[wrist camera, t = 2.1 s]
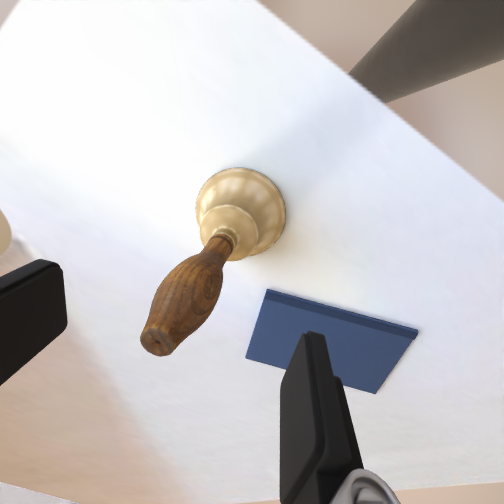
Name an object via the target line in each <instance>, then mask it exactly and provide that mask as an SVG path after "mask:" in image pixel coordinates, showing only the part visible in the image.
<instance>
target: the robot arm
mask: <svg viewBox="0 0 504 504" xmlns="http://www.w3.org/2000/svg"><path fill="white" fill-rule="evenodd" d="M66 327H67V311H66V301H65V290H64V279H63V271H62V269H61V268H60V266H59V264H57V263H55V262H51V261H47V260H43V259H38V260H35V261H33V262H31V263H29V264H27V265H25V266H22V267H20V268H18V269H16V270H14V271H12V272H10V273H8V274H5V275H3V276H1V277H0V386H1V385H2V384H3V383H4V382H5V381H6V380H8V379H9V378H10V377H11V376H12V375H13V374H15V373H16V372H17V371H18V370H19V369H20V368H22V367H23V366H24V365H25V364H26V363H27V362H29V361H30V360H31V359H32V358H33V357H34V356H36V355H37V354H38V353H39V352H40V351H41V350H43V349H44V348H45V347H46V346H47V345H48V344H49V343H51V342H52V341H53V340H54V339H55V338H56V337H58V336H59V335H60V334H61V333H62V332H63V331H64V330H65V329H66ZM280 502H281V504H401V503H400V502H399V500H398V499H397V497H396V495H395V493H394V492H393V491H392V489H391V488H390V487H389V486H388V485H387V483H386V482H385V481H383V480H382V479H381V478H380V477H379V476H378V475H376V474H374V473H372V472H370V471H369V470H365V469H364V467H363V463H362V459H361V455H360V451H359V447H358V443H357V439H356V436H355V432H354V428H353V424H352V420H351V416H350V412H349V408H348V404H347V400H346V396H345V392H344V388H343V384H342V381H341V379H340V378H339V377H338V376H334V375H333V370H332V366H331V362H330V357H329V353H328V348H327V344H326V339H325V336H324V335H323V334H320V333H317V332H313V331H308V332H307V334H305V333H302V335H301V337H300V339H299V341H298V344H297V346H296V349H295V351H294V353H293V356H292V358H291V360H290V363H289V365H288V367H287V370H286V372H285V375H284V377H283V379H282V382H281V388H280ZM0 504H80V503H77V502H73V501H69V500H66V499H62V498H58V497H55V496H51V495H47V494H44V493H40V492H36V491H33V490H29V489H25V488H21V487H18V486H14V485H10V484H7V483H3V482H0Z"/></svg>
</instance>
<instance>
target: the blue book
mask: <svg viewBox="0 0 504 504" xmlns="http://www.w3.org/2000/svg"><path fill="white" fill-rule="evenodd" d="M308 331H313V332H317V333H320V334H323V335H324V336H325V339H326V344H327V348H328V353H329V357H330V362H331V366H332V370H333V375H334V376H338V377H339V378H340V379H341V381H342V384H343V385H344V386H348V387H351V388H355V389H358V390H362V391H366V392H369V393H373V394H376V392H377V391H378V390H379V388H380V387H381V385H382V384H383V382H384V381H385V379H386V378H387V377H388V375H389V374H390V372H391V371H392V369H393V368H394V367H395V365H396V364H397V362H398V361H399V359H400V358H401V356H402V355H403V354H404V352H405V351H406V349H407V348H408V346H409V345H410V343H411V342H412V341H413V340H414V339H415V338H416V336H417V335H418V330H415V329H412V328H408V327H404V326H401V325H397V324H393V323H390V322H386V321H382V320H379V319H375V318H371V317H368V316H364V315H360V314H357V313H353V312H349V311H346V310H342V309H338V308H335V307H331V306H327V305H324V304H320V303H316V302H313V301H309V300H305V299H302V298H298V297H294V296H291V295H287V294H283V293H280V292H276V291H272V290H269V289H267V291H266V294H265V297H264V300H263V303H262V306H261V310H260V313H259V316H258V319H257V322H256V325H255V329H254V332H253V335H252V338H251V341H250V344H249V348H248V351H247V354H246V357H245V358H246V359H250V360H254V361H257V362H261V363H265V364H268V365H272V366H275V367H279V368H283V369H286V370H287V367H288V365H289V363H290V360H291V358H292V356H293V353H294V351H295V349H296V346H297V344H298V341H299V339H300V337H301V335H302V333H305V334H307V332H308Z"/></svg>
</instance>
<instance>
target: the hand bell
mask: <svg viewBox="0 0 504 504" xmlns="http://www.w3.org/2000/svg"><path fill="white" fill-rule="evenodd" d="M285 215H286V212H285V205H284V201H283V199H282V196H281V194H280V192H279V191H278V189H277V187H276V186H275V185H274V184H273V183H272V182H271V181H270V180H269V179H268V178H267V177H265V176H264V175H262V174H261V173H259V172H256V171H254V170H250V169H246V168H230V169H226V170H223V171H220V172H218V173H217V174H215V175H213V176H212V177H210V178H209V179H208V180H207V181H206V183H205V184H204V185H203V187H202V188H201V190H200V192H199V194H198V197H197V201H196V218H197V222H198V225H199V233H200V239H201V242H202V244H203V245H204V249H203V250H202V251H201V253H199V254H197V255H194V256H191V257H189V258H187V259H186V260H184V261H183V262H181V263H180V264H179V265H177V266H176V267H175V268H174V269H173V270H172V271H171V272H170V273H169V274H168V275H167V276H166V278H165V279H164V280H163V281H162V283H161V284H160V286H159V287H158V289H157V291H156V293H155V296H154V299H153V301H152V305H151V309H150V313H149V317H148V319H147V322H146V325H145V327H144V329H143V331H142V333H141V336H140V342H141V344H142V346H143V347H144V348H145V349H146V350H147V351H148V352H149V353H152V354H154V355H156V356H160V357H161V356H167V355H170V354H171V353H172V352H173V351H174V350H175V349H176V348H177V347H178V345H179V344H180V343H181V342H182V341H183V340H184V339H186V338H187V337H188V336H189V335H191V334H192V333H193V332H194V331H196V330H197V329H198V328H199V327H200V326H201V325H202V324H203V323H204V322H205V321H206V319H207V318H208V317H209V315H210V314H211V312H212V311H213V309H214V307H215V305H216V303H217V300H218V298H219V295H220V292H221V288H222V283H223V272H222V268H223V266H224V264H225V262H226V261H238V260H241V259H243V258H245V257H247V256H252V255H256V254H259V253H261V252H263V251H265V250H267V249H268V248H270V247H271V246H272V245H273V244H274V243H275V242H276V241H277V239H278V238H279V236H280V234H281V233H282V230H283V227H284V224H285Z"/></svg>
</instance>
